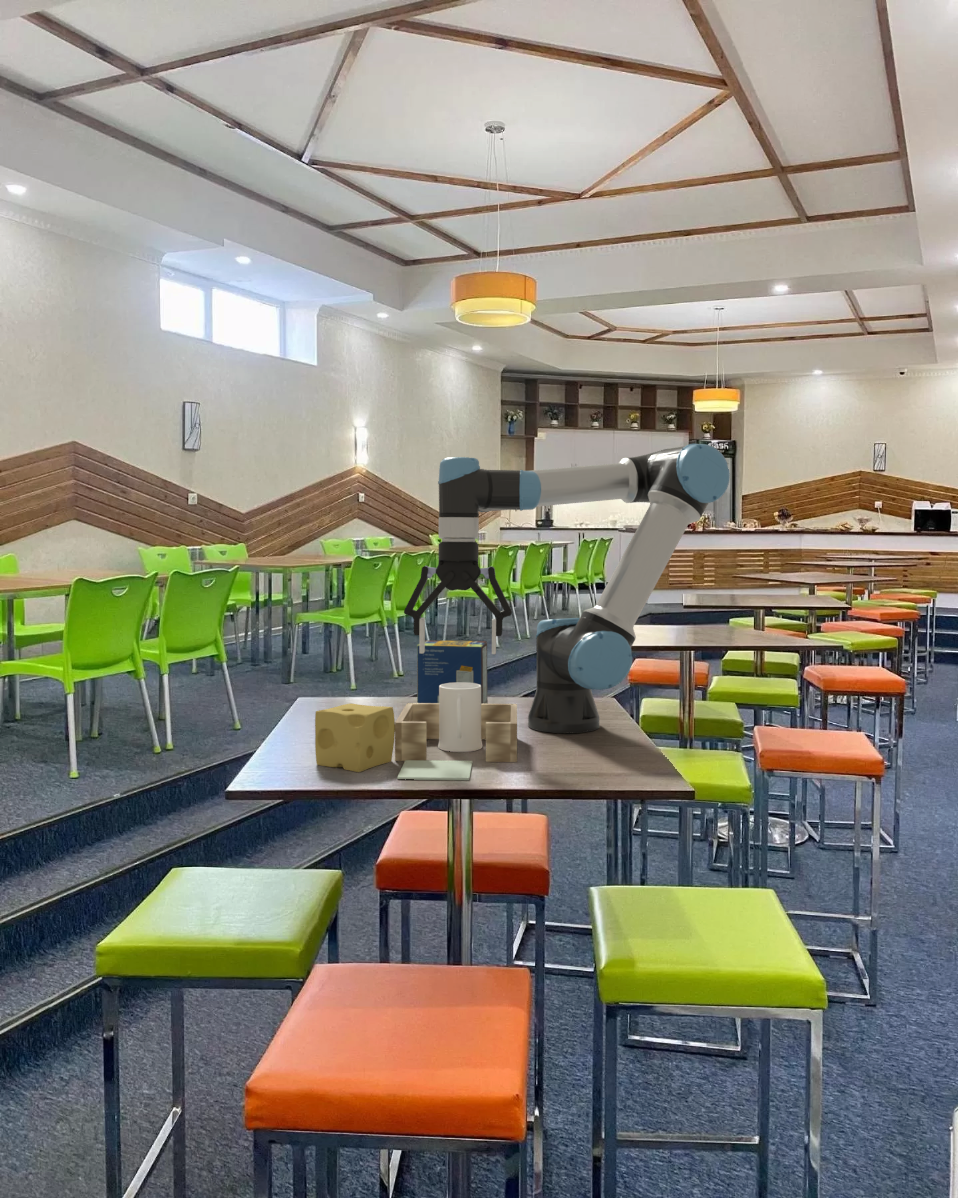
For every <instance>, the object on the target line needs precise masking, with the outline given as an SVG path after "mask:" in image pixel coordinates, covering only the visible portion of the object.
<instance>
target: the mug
mask: <svg viewBox="0 0 958 1198" xmlns="http://www.w3.org/2000/svg"><path fill="white" fill-rule="evenodd" d="M437 748H438V749H439V750H441V751H445V752H449V751H450V753H469V752H476V751H479V750H481V749H482V748H483V741H482V739H481V685H479V684H476V683H465V682H456V683H445V684H441V685H439V739H438V744H437Z"/></svg>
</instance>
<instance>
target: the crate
mask: <svg viewBox="0 0 958 1198" xmlns="http://www.w3.org/2000/svg"><path fill="white" fill-rule="evenodd" d="M427 740H439V703H417V702H407V703H406V704H405V706H404V707H403V709H402V710H401V712H400V713H399V716H398V717H397V718H396V720H395V736H394V761H395V762H405V760H428V757H427V755H428V754H427V753H428V752H427V751H428V750H427V746H428V745H427ZM481 740H485V763H486V762H487V763H517V762H518V703H488V704H481Z"/></svg>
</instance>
